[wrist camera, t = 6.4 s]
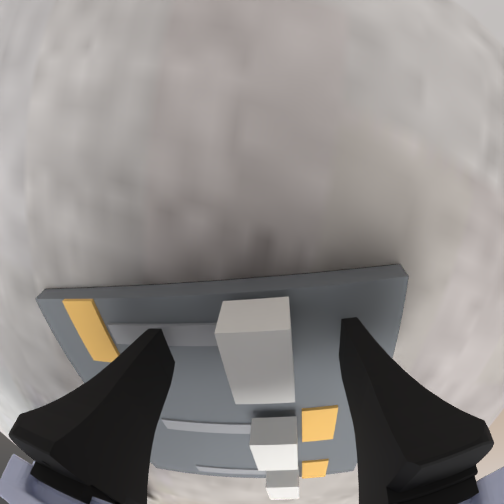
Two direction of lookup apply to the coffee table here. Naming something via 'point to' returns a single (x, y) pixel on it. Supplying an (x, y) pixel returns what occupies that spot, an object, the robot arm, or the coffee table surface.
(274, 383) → the switch
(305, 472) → the switch board
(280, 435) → the switch
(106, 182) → the coffee table surface
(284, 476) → the switch
